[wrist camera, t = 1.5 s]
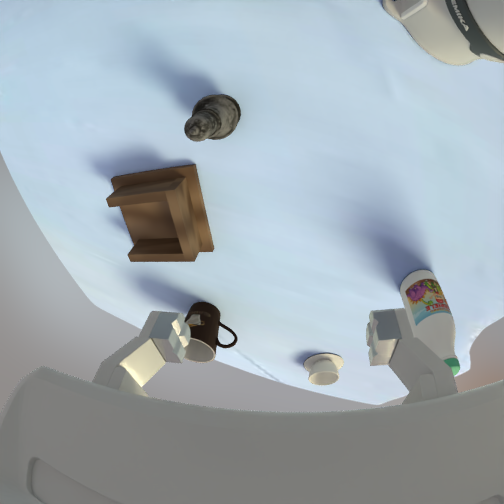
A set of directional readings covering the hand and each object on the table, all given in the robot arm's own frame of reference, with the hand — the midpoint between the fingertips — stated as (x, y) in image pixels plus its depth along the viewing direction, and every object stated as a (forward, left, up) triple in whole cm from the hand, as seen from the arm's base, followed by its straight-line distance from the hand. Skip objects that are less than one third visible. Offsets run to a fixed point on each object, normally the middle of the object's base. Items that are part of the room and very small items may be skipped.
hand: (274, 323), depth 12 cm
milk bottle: (+26, +23, -30) cm, 46 cm away
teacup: (+53, +7, -31) cm, 61 cm away
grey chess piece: (-5, -9, -30) cm, 32 cm away
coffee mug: (+34, -18, -30) cm, 49 cm away
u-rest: (+10, -21, -30) cm, 38 cm away
